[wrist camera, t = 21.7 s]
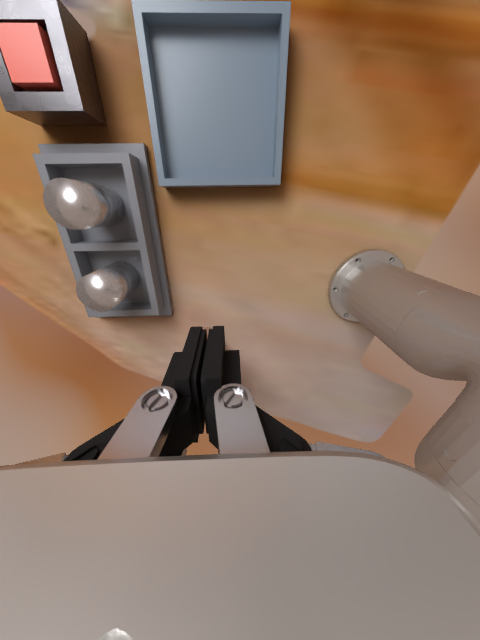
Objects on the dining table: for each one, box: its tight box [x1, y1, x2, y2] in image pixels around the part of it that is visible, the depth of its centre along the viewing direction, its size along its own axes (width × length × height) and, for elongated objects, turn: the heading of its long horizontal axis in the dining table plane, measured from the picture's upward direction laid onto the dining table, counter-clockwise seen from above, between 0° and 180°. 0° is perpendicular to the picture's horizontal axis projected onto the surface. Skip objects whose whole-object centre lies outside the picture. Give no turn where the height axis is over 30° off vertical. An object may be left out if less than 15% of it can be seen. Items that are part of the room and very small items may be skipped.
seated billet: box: [76, 261, 140, 312], centre depth 32 cm, size 5×5×8 cm
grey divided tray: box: [33, 143, 173, 317], centre depth 33 cm, size 13×24×4 cm, turn 1°
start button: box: [0, 23, 64, 92], centre depth 23 cm, size 4×4×3 cm
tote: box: [131, 0, 291, 188], centre depth 27 cm, size 16×16×3 cm
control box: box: [0, 0, 107, 126], centre depth 24 cm, size 8×8×5 cm
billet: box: [43, 178, 125, 230], centre depth 28 cm, size 5×5×8 cm
